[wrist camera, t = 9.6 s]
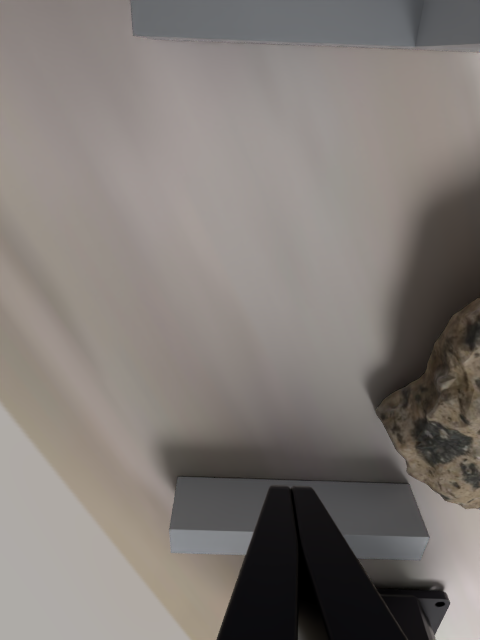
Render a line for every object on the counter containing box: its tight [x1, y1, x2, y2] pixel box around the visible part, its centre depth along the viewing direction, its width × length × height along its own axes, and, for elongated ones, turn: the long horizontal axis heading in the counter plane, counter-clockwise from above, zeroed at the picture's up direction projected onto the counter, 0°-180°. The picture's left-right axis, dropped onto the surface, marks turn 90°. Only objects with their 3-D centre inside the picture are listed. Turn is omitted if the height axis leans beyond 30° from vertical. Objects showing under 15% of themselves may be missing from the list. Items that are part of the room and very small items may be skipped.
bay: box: [131, 0, 480, 560], centre depth 12 cm, size 22×10×7 cm, turn 178°
